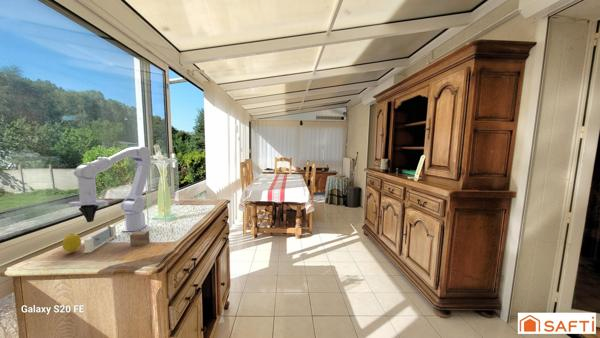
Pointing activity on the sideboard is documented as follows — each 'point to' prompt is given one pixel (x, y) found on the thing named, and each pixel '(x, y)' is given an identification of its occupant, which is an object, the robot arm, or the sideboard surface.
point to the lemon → (71, 243)
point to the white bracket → (90, 247)
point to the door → (101, 236)
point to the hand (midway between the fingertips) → (90, 221)
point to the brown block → (139, 238)
